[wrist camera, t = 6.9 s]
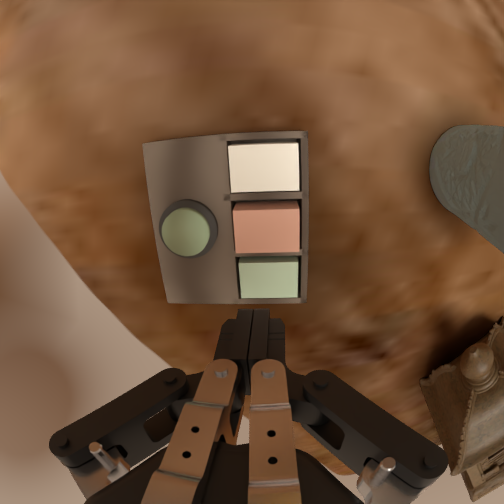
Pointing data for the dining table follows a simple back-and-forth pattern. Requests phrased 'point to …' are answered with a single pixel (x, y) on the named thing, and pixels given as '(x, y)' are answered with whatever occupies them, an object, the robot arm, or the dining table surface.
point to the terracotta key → (266, 226)
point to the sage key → (268, 276)
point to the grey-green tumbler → (472, 177)
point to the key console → (212, 215)
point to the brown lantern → (472, 412)
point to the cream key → (264, 166)
